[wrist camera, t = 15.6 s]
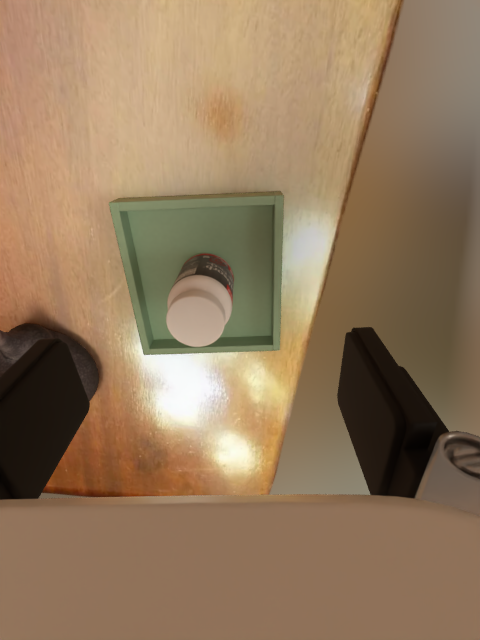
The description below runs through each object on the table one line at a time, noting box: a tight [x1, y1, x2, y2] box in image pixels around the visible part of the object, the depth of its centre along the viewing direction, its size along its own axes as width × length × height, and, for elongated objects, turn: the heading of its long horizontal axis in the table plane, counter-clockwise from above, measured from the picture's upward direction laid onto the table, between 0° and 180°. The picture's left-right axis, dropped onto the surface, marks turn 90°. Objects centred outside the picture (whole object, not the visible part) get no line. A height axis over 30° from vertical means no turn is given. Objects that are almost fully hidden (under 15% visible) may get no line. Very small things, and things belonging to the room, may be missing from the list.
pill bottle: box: [166, 253, 234, 347], centre depth 29 cm, size 6×6×10 cm
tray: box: [109, 191, 284, 355], centre depth 33 cm, size 16×17×3 cm
